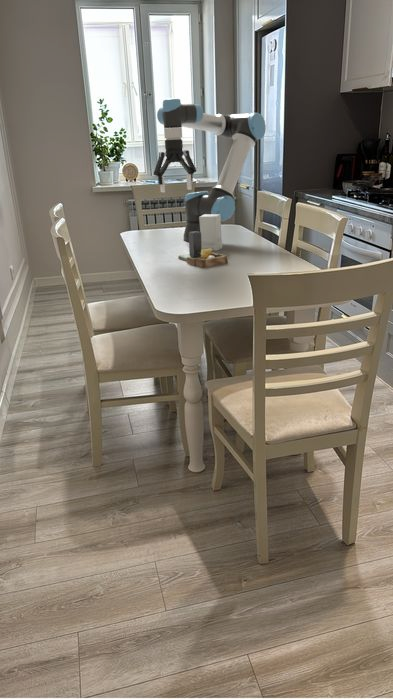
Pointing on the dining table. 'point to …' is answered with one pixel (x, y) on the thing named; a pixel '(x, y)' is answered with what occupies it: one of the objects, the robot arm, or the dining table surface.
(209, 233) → the skincare box
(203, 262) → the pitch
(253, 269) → the dining table surface
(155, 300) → the dining table surface
